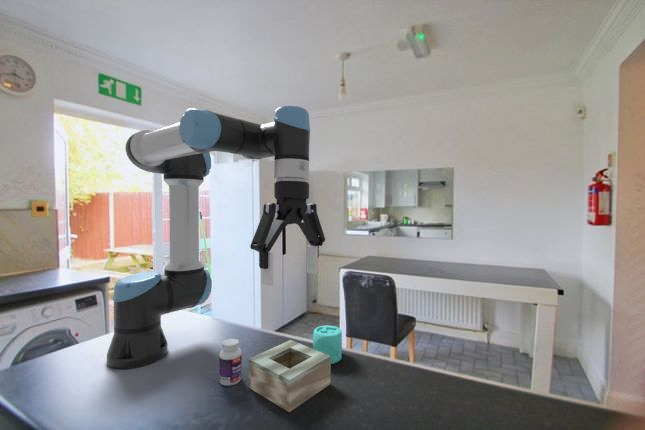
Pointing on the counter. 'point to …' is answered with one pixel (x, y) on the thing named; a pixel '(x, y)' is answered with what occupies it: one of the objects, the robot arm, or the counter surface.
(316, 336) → the engraved teal number block
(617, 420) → the counter surface
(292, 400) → the grey hollow square block
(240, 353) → the pill bottle
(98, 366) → the counter surface
